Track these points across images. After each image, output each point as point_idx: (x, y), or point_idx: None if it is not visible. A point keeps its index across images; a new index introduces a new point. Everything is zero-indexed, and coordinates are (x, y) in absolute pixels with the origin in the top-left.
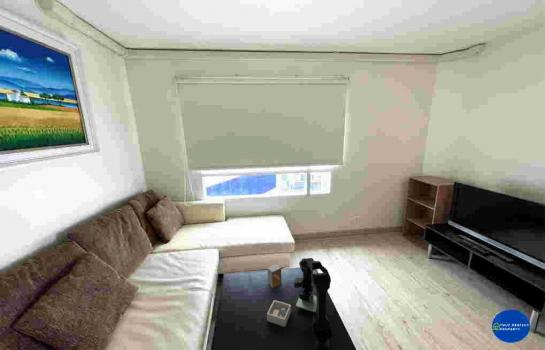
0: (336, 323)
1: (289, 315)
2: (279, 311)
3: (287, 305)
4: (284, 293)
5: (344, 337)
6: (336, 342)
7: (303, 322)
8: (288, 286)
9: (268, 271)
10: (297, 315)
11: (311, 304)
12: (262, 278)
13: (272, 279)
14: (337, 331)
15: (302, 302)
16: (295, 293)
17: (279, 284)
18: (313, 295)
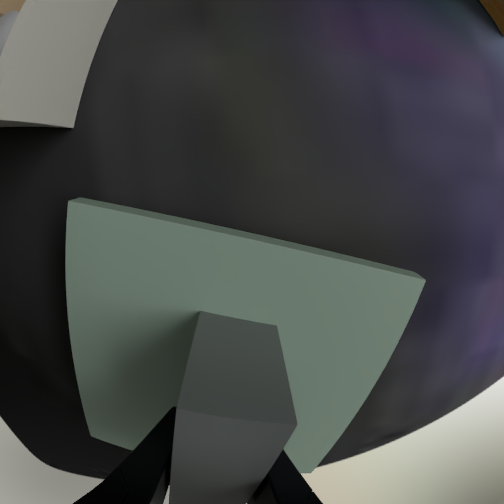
0: None
1: (28, 126)
2: (1, 14)
3: (9, 63)
4: (403, 22)
5: (60, 467)
6: (19, 434)
7: (7, 289)
8: (500, 97)
9: None
10: (44, 222)
11: None
12: None
13: None
14: (70, 460)
15: (166, 322)
16: (429, 171)
17: (490, 12)
18: (335, 438)
